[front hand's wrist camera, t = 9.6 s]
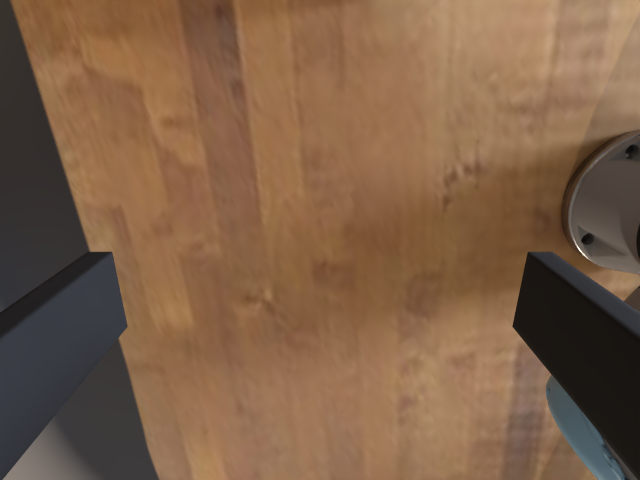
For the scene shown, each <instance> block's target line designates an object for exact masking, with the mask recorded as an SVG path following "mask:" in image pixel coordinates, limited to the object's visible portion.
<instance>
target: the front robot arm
mask: <svg viewBox="0 0 640 480" xmlns="http://www.w3.org/2000/svg"><path fill="white" fill-rule="evenodd" d="M561 219H562V226H563V230H564V233H565V236H566V238H567V240H568V242H569V243H570V245H571V246H572V247H573V248H574V249H575V250H576V251H577V252H578V253H579V254H581V255H582V256H584V257H585V258H587V259H588V260H590V261H591V262H593V263H595V264H597V265H599V266H601V267H604V268H608V269H612V270H617V271H623V272H628V273H634V274H640V130H636V131H632V132H629V133H626V134H623V135H621V136H619V137H617V138H615V139H613V140H611V141H609V142H607V143H606V144H604V145H603V146H601V147H600V148H599V149H597V150H596V151H595V152H594V153H593V154H591V155H590V156H589V157H588V158H587V159H586V160H585V161H584V163H583V164H582V165H581V166H580V167H579V169H578V170H577V171H576V173H575V174H574V176H573V178H572V179H571V181H570V183H569V185H568V187H567V190H566V192H565V196H564V199H563V204H562V211H561ZM126 328H127V322H126V317H125V312H124V307H123V302H122V298H121V293H120V288H119V283H118V278H117V273H116V268H115V264H114V259H113V254H112V252H87V253H86V254H84V255H83V256H81V257H80V258H78V259H77V260H76V261H74V262H73V263H71V264H70V265H68V266H67V267H65V268H64V269H62V270H61V271H60V272H58V273H57V274H55V275H54V276H52V277H51V278H50V279H48V280H47V281H45V282H44V283H42V284H41V285H40V286H38V287H37V288H35V289H34V290H32V291H31V292H29V293H28V294H26V295H25V296H24V297H22V298H21V299H19V300H18V301H16V302H15V303H13V304H12V305H11V306H9V307H8V308H6V309H5V310H3V311H2V312H1V313H0V480H3V478H4V477H5V476H6V475H7V473H8V472H9V471H10V470H11V469H12V467H13V466H14V465H15V464H16V462H17V461H18V460H19V459H20V458H21V456H22V455H23V454H24V453H25V451H26V450H27V449H28V448H29V446H30V445H31V444H32V443H33V442H34V440H35V439H36V438H37V437H38V435H39V434H40V433H41V432H42V431H43V429H44V428H45V427H46V426H47V424H48V423H49V422H50V421H51V420H52V418H53V417H54V416H55V415H56V413H57V412H58V411H59V410H60V409H61V407H62V406H63V405H64V404H65V402H66V401H67V400H68V399H69V398H70V396H71V395H72V394H73V393H74V391H75V390H76V389H77V388H78V387H79V385H80V384H81V383H82V382H83V380H84V379H85V378H86V377H87V376H88V374H89V373H90V372H91V371H92V369H93V368H94V367H95V366H96V365H97V363H98V362H99V361H100V360H101V358H102V357H103V356H104V355H105V353H106V352H107V351H108V350H109V349H110V347H111V346H112V345H113V344H114V342H115V341H116V340H117V339H118V338H119V336H120V335H121V334H122V333H123V331H124V330H125V329H126ZM513 328H514V329H515V330H516V331H517V333H518V334H519V335H520V336H521V338H522V339H523V340H524V341H525V342H526V344H527V345H528V346H529V347H530V349H531V350H532V351H533V352H534V353H535V355H536V356H537V357H538V358H539V360H540V361H541V362H542V363H543V365H544V366H545V367H546V368H547V369H548V371H549V372H550V373H551V374H552V375H551V376H550V378H549V380H548V382H547V385H546V397H547V400H548V405H549V409H550V411H551V413H552V416H553V418H554V420H555V422H556V424H557V425H558V427H559V429H560V430H561V432H562V434H563V435H564V437H565V438H566V440H567V441H568V443H569V444H570V446H571V447H572V448H573V450H574V451H575V453H576V454H577V455H578V456H579V458H580V459H581V460H582V462H583V463H584V464H585V465H586V466H587V468H588V469H589V470H590V471H591V472H592V473H593V475H594V476H595V477H596V478H597V479H598V480H640V286H639V287H638V288H637V289H636V290H635V291H634V292H633V293H632V294H631V295H630V296H629V297H628V298H627V299H626V300H625V301H622V300H621V299H619V298H618V297H616V296H615V295H614V294H612V293H611V292H609V291H608V290H606V289H605V288H603V287H602V286H601V285H599V284H598V283H596V282H595V281H593V280H592V279H590V278H589V277H588V276H586V275H585V274H583V273H582V272H580V271H579V270H578V269H576V268H575V267H573V266H572V265H570V264H569V263H567V262H566V261H565V260H563V259H562V258H560V257H559V256H557V255H556V254H554V253H553V252H528V254H527V259H526V264H525V268H524V273H523V278H522V283H521V288H520V293H519V297H518V302H517V307H516V312H515V317H514V322H513Z"/></svg>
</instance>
